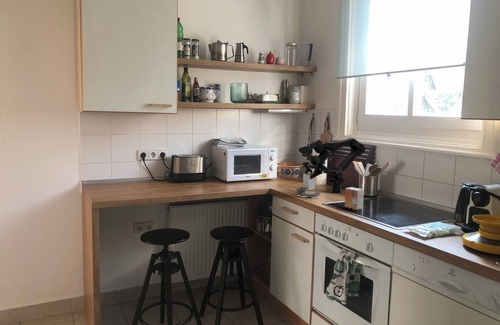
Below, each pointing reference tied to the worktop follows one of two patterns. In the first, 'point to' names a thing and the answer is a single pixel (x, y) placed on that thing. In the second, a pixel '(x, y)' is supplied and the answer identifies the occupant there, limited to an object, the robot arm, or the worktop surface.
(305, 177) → the housing
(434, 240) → the worktop surface
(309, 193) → the press bed
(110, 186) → the worktop surface
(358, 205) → the small box
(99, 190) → the worktop surface
